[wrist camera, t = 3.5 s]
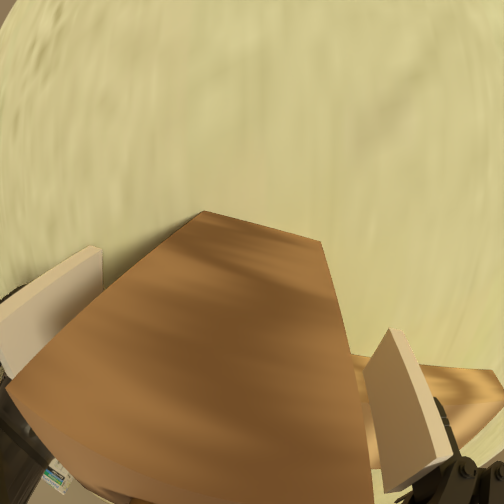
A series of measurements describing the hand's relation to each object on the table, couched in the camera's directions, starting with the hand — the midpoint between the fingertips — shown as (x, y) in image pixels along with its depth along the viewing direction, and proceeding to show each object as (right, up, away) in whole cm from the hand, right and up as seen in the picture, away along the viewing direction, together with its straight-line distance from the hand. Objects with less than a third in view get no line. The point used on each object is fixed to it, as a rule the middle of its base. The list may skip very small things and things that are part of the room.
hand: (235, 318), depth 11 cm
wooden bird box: (-1, -3, +5) cm, 6 cm away
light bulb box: (-48, -52, +31) cm, 77 cm away
